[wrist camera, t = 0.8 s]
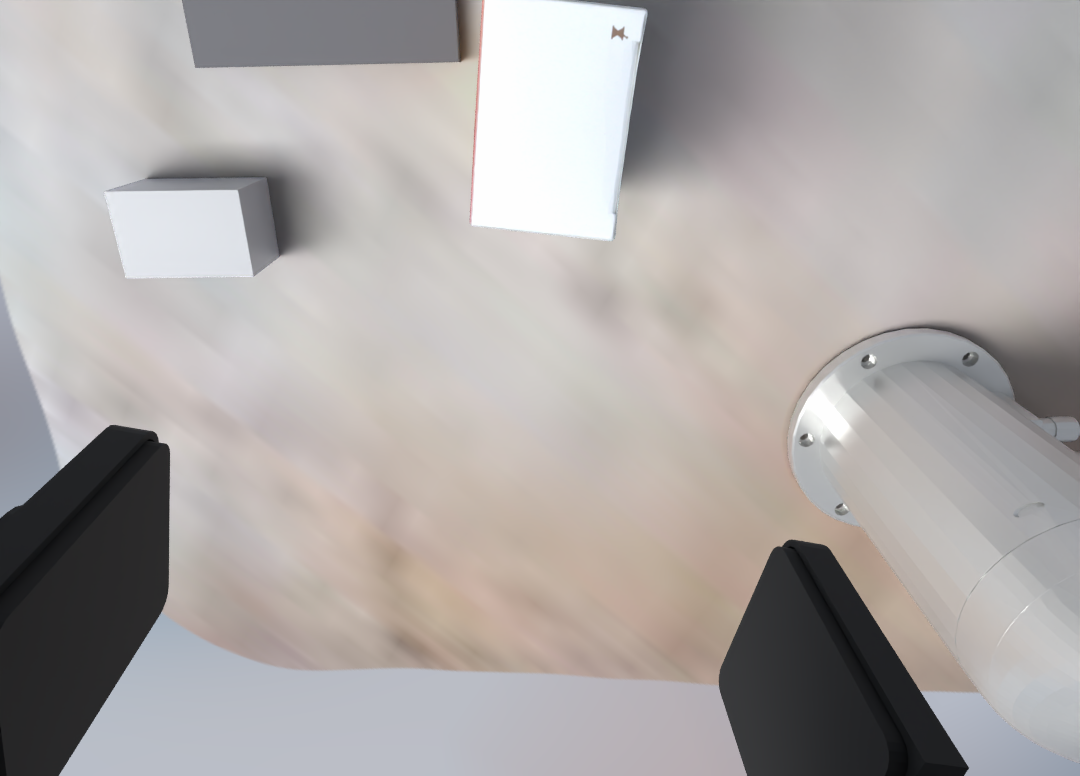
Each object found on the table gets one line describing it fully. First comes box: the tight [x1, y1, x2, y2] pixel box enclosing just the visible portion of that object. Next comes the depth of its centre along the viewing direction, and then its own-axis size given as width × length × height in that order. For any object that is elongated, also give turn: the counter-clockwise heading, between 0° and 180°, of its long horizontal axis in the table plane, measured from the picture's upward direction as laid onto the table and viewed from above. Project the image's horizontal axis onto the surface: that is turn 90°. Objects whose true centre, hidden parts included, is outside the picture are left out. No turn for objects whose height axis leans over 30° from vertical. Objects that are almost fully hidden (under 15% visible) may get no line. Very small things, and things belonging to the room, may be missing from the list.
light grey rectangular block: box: [104, 177, 280, 278], centre depth 35 cm, size 6×4×4 cm, turn 91°
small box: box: [470, 0, 648, 241], centre depth 30 cm, size 8×6×10 cm
